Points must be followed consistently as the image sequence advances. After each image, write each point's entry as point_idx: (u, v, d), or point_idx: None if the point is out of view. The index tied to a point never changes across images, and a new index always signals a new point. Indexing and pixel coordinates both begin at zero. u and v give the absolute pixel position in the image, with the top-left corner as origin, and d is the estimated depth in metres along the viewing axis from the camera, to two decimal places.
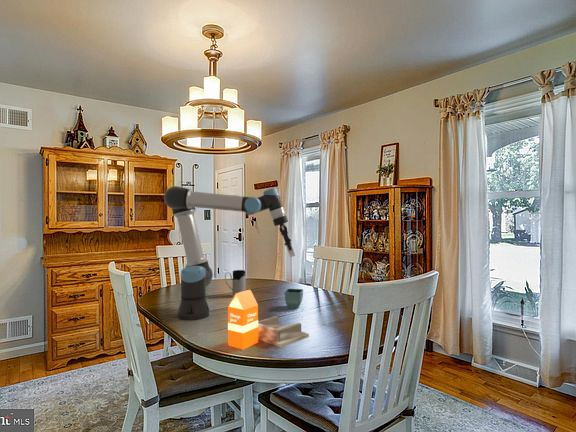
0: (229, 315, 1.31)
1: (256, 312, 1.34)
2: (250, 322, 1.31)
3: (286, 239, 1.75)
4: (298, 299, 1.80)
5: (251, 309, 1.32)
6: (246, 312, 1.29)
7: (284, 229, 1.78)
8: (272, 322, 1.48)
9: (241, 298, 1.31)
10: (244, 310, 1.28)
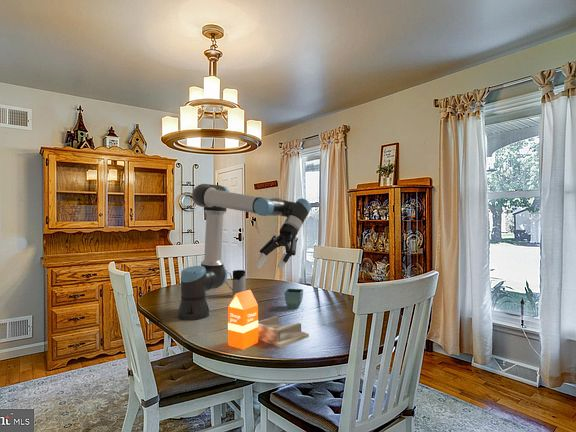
0: (229, 315, 1.31)
1: (256, 312, 1.34)
2: (250, 322, 1.31)
3: (294, 249, 1.41)
4: (298, 299, 1.80)
5: (251, 309, 1.32)
6: (246, 312, 1.29)
7: (296, 240, 1.46)
8: (272, 322, 1.48)
9: (241, 298, 1.31)
10: (244, 310, 1.28)
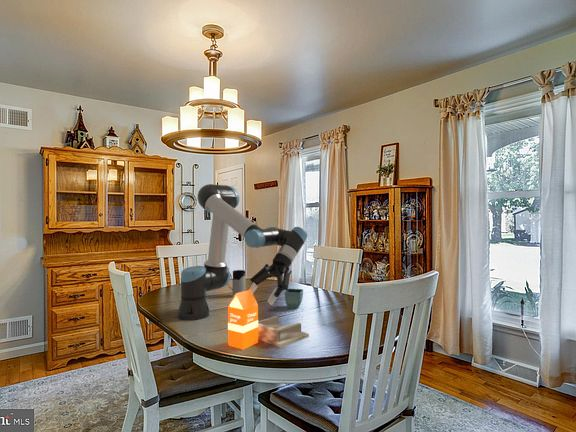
0: (229, 315, 1.31)
1: (256, 312, 1.34)
2: (250, 322, 1.31)
3: (286, 283, 1.35)
4: (298, 299, 1.80)
5: (251, 309, 1.32)
6: (246, 312, 1.29)
7: (289, 273, 1.40)
8: (272, 322, 1.48)
9: (241, 298, 1.31)
10: (244, 310, 1.28)
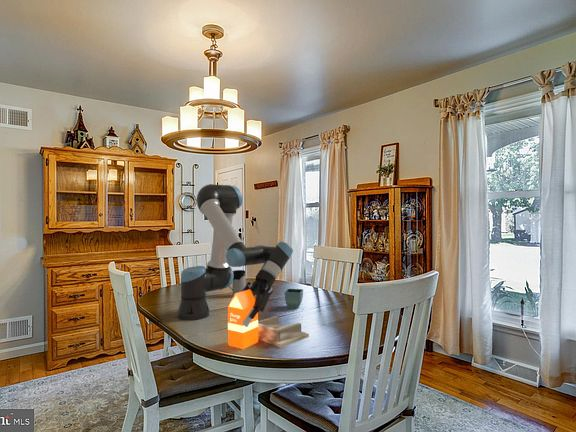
0: (229, 315, 1.31)
1: None
2: (250, 322, 1.31)
3: (263, 305, 1.30)
4: (298, 299, 1.80)
5: None
6: (246, 312, 1.29)
7: (269, 293, 1.34)
8: (272, 322, 1.48)
9: (241, 298, 1.31)
10: (244, 310, 1.28)
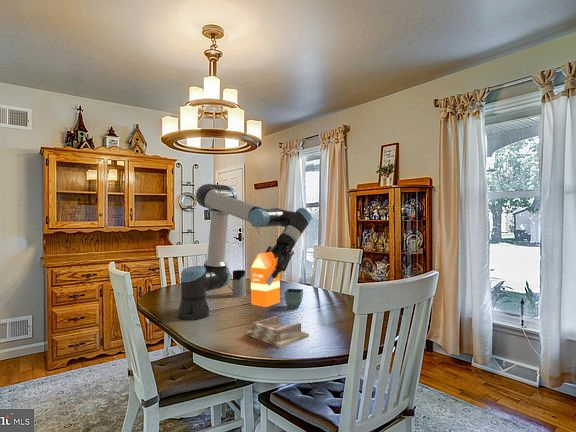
0: (252, 275, 1.36)
1: None
2: None
3: (284, 265, 1.35)
4: (298, 299, 1.80)
5: None
6: (268, 271, 1.34)
7: (290, 255, 1.39)
8: (272, 322, 1.48)
9: (263, 258, 1.36)
10: (266, 269, 1.33)
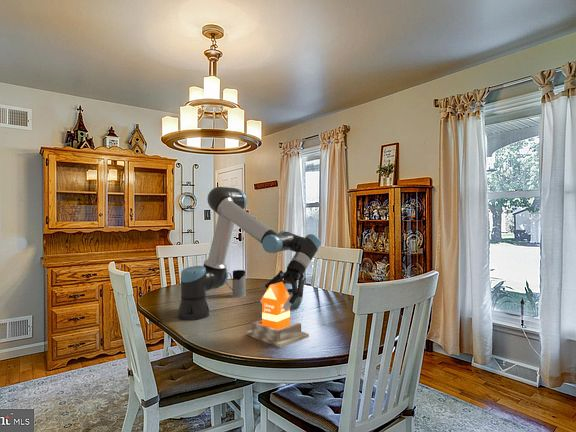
0: (263, 305, 1.41)
1: None
2: (283, 312, 1.40)
3: (301, 290, 1.38)
4: (298, 299, 1.80)
5: (284, 299, 1.41)
6: (279, 302, 1.38)
7: (303, 280, 1.43)
8: None
9: (275, 289, 1.40)
10: (278, 300, 1.37)
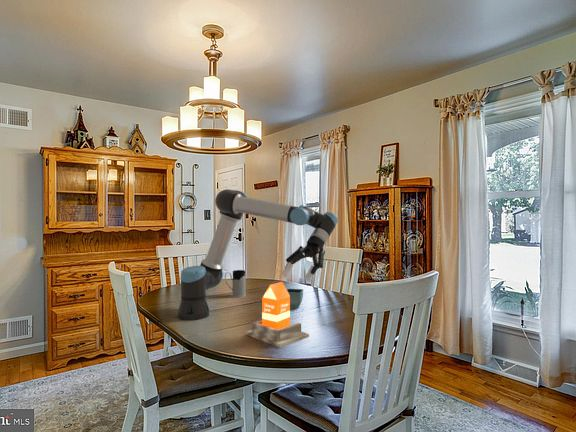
0: (263, 305, 1.41)
1: (288, 303, 1.43)
2: (283, 312, 1.40)
3: (321, 262, 1.47)
4: (298, 299, 1.80)
5: (284, 299, 1.41)
6: (279, 302, 1.38)
7: (323, 253, 1.52)
8: None
9: (275, 289, 1.40)
10: (278, 300, 1.37)
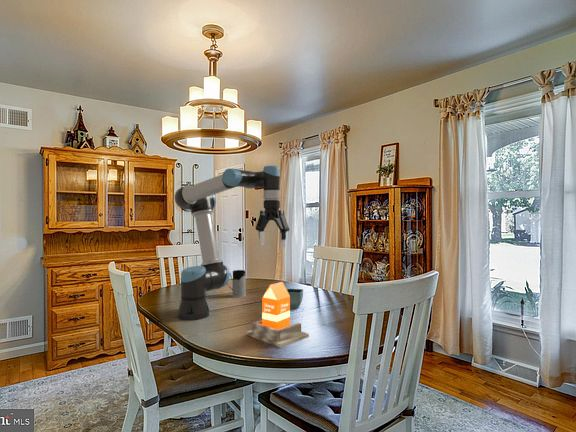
0: (263, 305, 1.41)
1: (288, 303, 1.43)
2: (283, 312, 1.40)
3: (286, 226, 1.53)
4: (298, 299, 1.80)
5: (284, 299, 1.41)
6: (279, 302, 1.38)
7: (283, 214, 1.55)
8: None
9: (275, 289, 1.40)
10: (278, 300, 1.37)
